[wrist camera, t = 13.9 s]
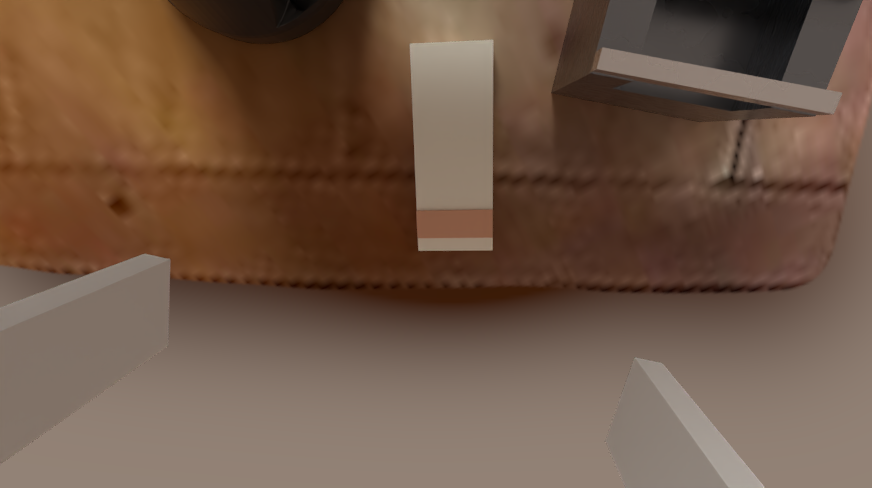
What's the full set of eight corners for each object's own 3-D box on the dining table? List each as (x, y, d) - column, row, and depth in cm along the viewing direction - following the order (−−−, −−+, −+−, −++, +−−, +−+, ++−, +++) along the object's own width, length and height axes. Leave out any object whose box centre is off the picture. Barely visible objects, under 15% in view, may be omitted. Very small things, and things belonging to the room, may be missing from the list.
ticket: (422, 242, 34) (418, 251, 31) (414, 50, 30) (409, 43, 28) (491, 242, 33) (492, 251, 31) (491, 46, 30) (493, 39, 27)
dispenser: (551, 92, 30) (596, 70, 19) (591, -71, 27) (670, -206, 16) (700, 122, 29) (833, 115, 19) (756, -42, 27) (947, -159, 16)
